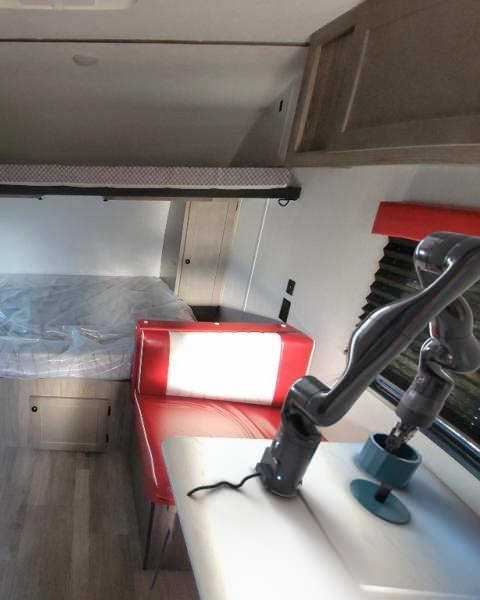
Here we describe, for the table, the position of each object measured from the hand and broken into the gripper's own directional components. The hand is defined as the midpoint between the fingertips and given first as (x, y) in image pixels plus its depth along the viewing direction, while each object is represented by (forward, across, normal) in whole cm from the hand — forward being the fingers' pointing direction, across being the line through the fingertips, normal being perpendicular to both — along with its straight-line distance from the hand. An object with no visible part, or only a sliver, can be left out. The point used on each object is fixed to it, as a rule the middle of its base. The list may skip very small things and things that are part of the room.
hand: (392, 451), depth 98 cm
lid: (+7, +14, +5) cm, 17 cm away
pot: (+8, 0, 0) cm, 8 cm away
